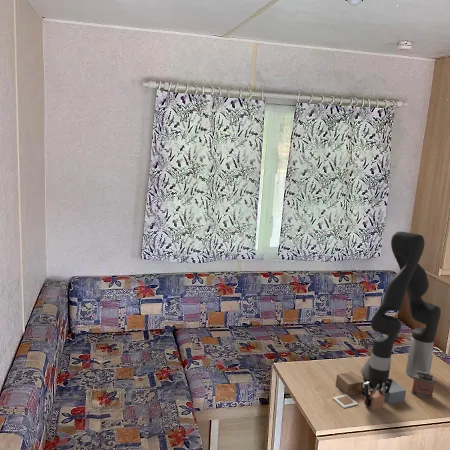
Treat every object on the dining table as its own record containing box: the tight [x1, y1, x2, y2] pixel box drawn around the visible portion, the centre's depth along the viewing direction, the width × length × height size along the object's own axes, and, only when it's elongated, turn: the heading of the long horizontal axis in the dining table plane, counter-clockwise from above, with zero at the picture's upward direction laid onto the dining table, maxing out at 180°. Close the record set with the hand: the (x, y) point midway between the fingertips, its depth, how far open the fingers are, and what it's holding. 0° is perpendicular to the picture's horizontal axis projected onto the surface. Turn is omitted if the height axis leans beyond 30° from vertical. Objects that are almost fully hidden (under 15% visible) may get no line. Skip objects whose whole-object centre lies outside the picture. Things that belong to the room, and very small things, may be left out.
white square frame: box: [331, 393, 359, 409], centre depth 192 cm, size 7×7×1 cm
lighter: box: [411, 371, 436, 399], centre depth 200 cm, size 8×3×10 cm, turn 71°
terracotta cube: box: [363, 389, 385, 411], centre depth 190 cm, size 5×5×5 cm
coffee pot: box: [356, 331, 372, 382], centre depth 213 cm, size 21×12×15 cm, turn 17°
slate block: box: [377, 379, 407, 405], centre depth 197 cm, size 8×8×5 cm
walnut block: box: [335, 371, 366, 396], centre depth 201 cm, size 8×8×5 cm
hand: (373, 404), depth 190 cm, fingers open, 5 cm apart
